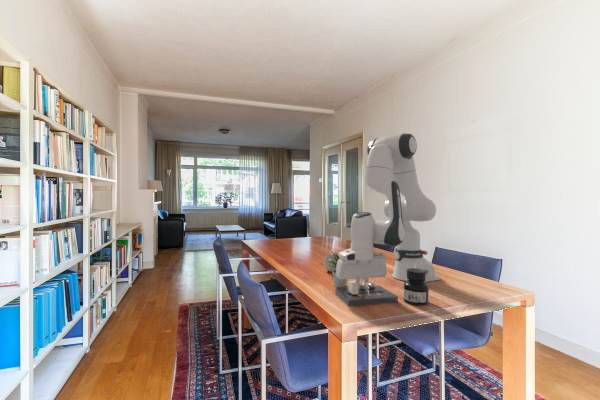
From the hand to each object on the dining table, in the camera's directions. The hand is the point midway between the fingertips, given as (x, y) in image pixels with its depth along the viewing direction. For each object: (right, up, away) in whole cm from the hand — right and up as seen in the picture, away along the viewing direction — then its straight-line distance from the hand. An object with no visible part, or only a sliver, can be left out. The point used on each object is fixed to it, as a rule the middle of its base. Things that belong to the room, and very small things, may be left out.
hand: (361, 288), depth 118 cm
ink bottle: (+20, -4, -3) cm, 21 cm away
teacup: (-7, -3, +40) cm, 40 cm away
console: (+2, -4, 0) cm, 4 cm away
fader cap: (-3, -1, -1) cm, 4 cm away
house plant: (-6, -3, +17) cm, 19 cm away
